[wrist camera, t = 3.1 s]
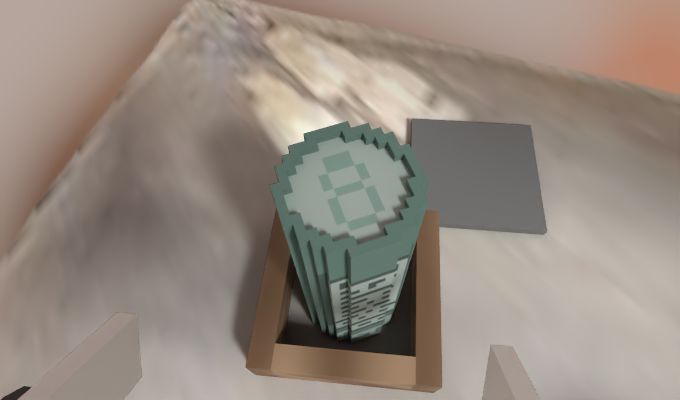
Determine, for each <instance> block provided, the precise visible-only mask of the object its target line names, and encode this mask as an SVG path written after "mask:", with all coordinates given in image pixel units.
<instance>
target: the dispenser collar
mask: <svg viewBox="0 0 680 400" xmlns="http://www.w3.org/2000/svg"><path fill="white" fill-rule="evenodd" d="M294 274H295V265H294V262H293V258H292V255H291V252H290V249H289V246H288V243H287V240H286V237H285V233H284V230H283V227H282V224H281V221H280V217H279V214H278V211H277V208H276V213H275V218H274V223H273V228H272V233H271V238H270V244H269V249H268V254H267V259H266V264H265V269H264V274H263V280H262V285H261V290H260V295H259V300H258V305H257V311H256V316H255V321H254V326H253V331H252V336H251V341H250V347H249V352H248V357H247V362H246V368H247V369H248V370H250V371H251V372H253V373H254V374H255V375H263V376H273V377H283V378H293V379H302V380H312V381H322V382H332V383H342V384H352V385H362V386H371V387H381V388H391V389H401V390H411V391H421V392H430V393H434V392H436V391H437V390H439V389H440V388H441V387H442V353H441V301H440V249H439V211H432V210H426V211H425V215H424V218H423V221H422V224H421V228H420V231H419V234H418V237H417V241H416V244H415V247H414V250H413V254H412V263H411V327H410V356H401V355H391V354H380V353H370V352H359V351H349V350H339V349H328V348H318V347H307V346H297V345H286V344H284V338H285V331H286V325H287V319H288V312H289V306H290V300H291V293H292V287H293V280H294Z"/></svg>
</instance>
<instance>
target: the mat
mask: <svg viewBox="0 0 680 400" xmlns="http://www.w3.org/2000/svg"><path fill="white" fill-rule="evenodd" d="M411 148H412V150H413V152H414V154H415V155H416V157H417V159H418V161H419V163H420V165H421V167H422V169H423V170H424V172H425V174H426V176H427V178H428V180H429V185H428V188H427V192H426V197H427V199H428V201H429V202H428V205H427V208H426V210H432V211H439V227H449V228H462V229H476V230H489V231H503V232H516V233H530V234H543V235H544V234H545V233H546V232H547V228H546V222H545V215H544V209H543V203H542V196H541V190H540V183H539V177H538V171H537V164H536V158H535V151H534V145H533V139H532V132H531V126H530V125H515V124H498V123H480V122H463V121H445V120H428V119H412V122H411Z"/></svg>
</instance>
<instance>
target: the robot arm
mask: <svg viewBox="0 0 680 400" xmlns="http://www.w3.org/2000/svg"><path fill="white" fill-rule="evenodd" d="M141 377H142V369H141V357H140V345H139V332H138V320H137V314H132V313H121V312H117V313H116V314H115V315H114V316H113V317H111V318H110V319H109V320H108V321H107V322H106V323H105V324H103V325H102V326H101V327H100V328H99V329H98V330H97V331H95V332H94V333H93V334H92V335H91V336H90V337H89V338H87V339H86V340H85V341H84V342H83V343H82V344H81V345H79V346H78V347H77V348H76V349H75V350H74V351H73V352H71V353H70V354H69V355H68V356H67V357H66V358H65V359H63V360H62V361H61V362H60V363H59V364H58V365H57V366H55V367H54V368H53V369H52V370H51V371H50V372H49V373H47V374H46V375H45V376H44V377H43V378H42V379H41V380H39V381H38V382H37V383H36V384H35V385H34V386H33V387H26V386H23V387H22V388H20V389H18V390H16V391H14V392H12V393H11V394H9V395H7V396H5V397H3V398H2V399H1V400H124V399H125V397H126V396H127V395H128V394H129V392H130V391H131V390H132V389H133V387H134V386H135V385H136V384H137V382H138V381H139V380H140V379H141ZM482 400H541V399H540V397H539V395H538V394H537V392H536V390H535V388H534V386H533V384H532V382H531V380H530V378H529V377H528V375H527V373H526V371H525V369H524V367H523V365H522V363H521V361H520V360H519V358H518V356H517V354H516V352H515V350H514V348H513V346H502V345H491V346H490V352H489V359H488V365H487V371H486V378H485V384H484V390H483V397H482Z"/></svg>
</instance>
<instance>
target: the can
mask: <svg viewBox="0 0 680 400" xmlns="http://www.w3.org/2000/svg"><path fill="white" fill-rule="evenodd" d="M304 140H305V141H304V142H300V143H297V144H293V145H290V146H288V149H289V154H287V155H283V156H281V158H282V162H283V164H281V165H277V166H274V168H275V171H276V175H277V178H278V183H274V184H271V185H270V188H271V191H272V195H273V198H274V201H275V204H276V208H277V211H278V214H279V217H280V221H281V224H282V227H283V230H284V233H285V237H286V240H287V243H288V246H289V249H290V252H291V255H292V258H293V262H294V265H295V268H296V271H297V274H298V277H299V280H300V283H301V286H302V290H303V293H304V296H305V299H306V302H307V305H308V308H309V311H310V315H311V318H312V321H313V324H314V325H315V324H317V323H320V326H321V329H322V332H323V334H325V333H328V332H329V334H330V338H332V337H335V336H337V339H338V342H339V341H342V340H345V339H348V338H350V340H351V343H355V342H358V341H360V340H363V339H366V338H369V337H372V336H374V335H377V334H380V332H381V328H382V326H384V325H387V324H389V322H390V319H391V316H392V315H393V312H394V309H396V305H397V302H398V299H399V296H400V292H401V289H402V286H403V283H404V279H405V276H406V273H407V270H408V266H409V263H410V260H411V257H412V254H413V250H414V247H415V244H416V241H417V237H418V234H419V231H420V228H421V224H422V221H423V218H424V215H425V211H426V208H427V205H428V202H429V201H428V199H427V197H426V192H427V188H428V185H429V180H428V178H427V176H426V174H425V172H424V170H423V169H422V167H421V165H420V163H419V161H418V159H417V157H416V155H415V154H414V152H413V150H412V148H411V146H410V144H409V143H408V144H405V145H402V146H400V145H399V143H398V141H397V139H396V137H395V135H394V133H393V132H390V133H387V134H384V133H383V131H382V129H381V127H380V128H376V129H373V130H372V129H371V127H370V125H369V123H367V124H363V125H360V126H356V127H353V128H351V127H350V125H349V123H348V121H347V122H343V123H340V124H336V125H333V126H329V127H326V128H322V129H319V130H315V131H311V132H308V133H304Z"/></svg>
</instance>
